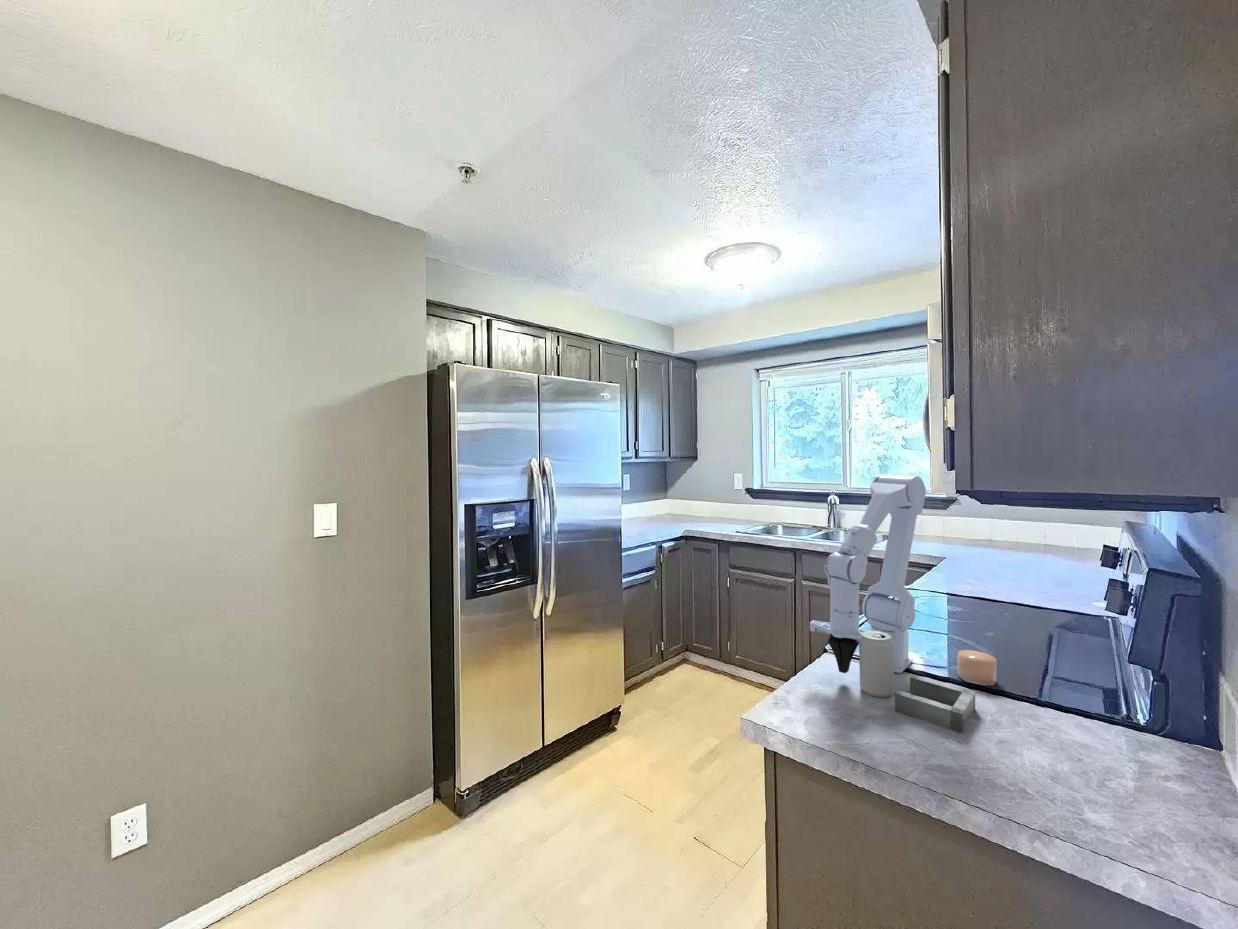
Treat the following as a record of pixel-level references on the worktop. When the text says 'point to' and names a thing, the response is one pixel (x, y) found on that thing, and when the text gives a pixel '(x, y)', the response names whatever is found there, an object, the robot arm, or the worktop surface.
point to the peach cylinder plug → (976, 666)
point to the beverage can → (876, 663)
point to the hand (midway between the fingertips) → (843, 671)
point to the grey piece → (936, 703)
